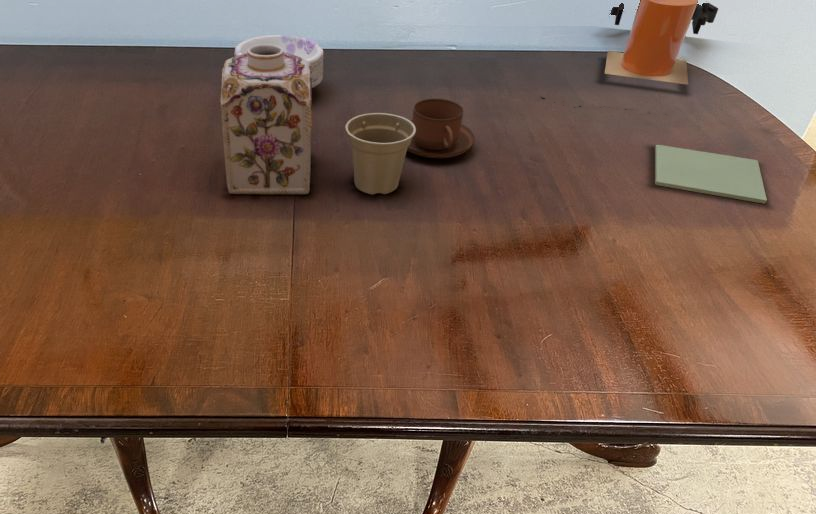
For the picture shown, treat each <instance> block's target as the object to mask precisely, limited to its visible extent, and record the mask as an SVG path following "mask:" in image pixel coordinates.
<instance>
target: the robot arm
mask: <svg viewBox="0 0 816 514" xmlns="http://www.w3.org/2000/svg"><path fill="white" fill-rule="evenodd" d="M623 9H624V4H623V3H621V4H620V5H619V7H613V8H612V10H610V11H611V13H610V12H609V15H610V14H611V15H615V19H614V26H620V22H621V20H622V17H623V12H624V11H623ZM718 11H719V7H717V6H715V5H713V4H712V3H710V2H708V3H703V4H702V6H701V5H699V4H697V6H696V9H695V11H694V14H693V17H692V19H691V26H692V27H691V28H692V33H693V34H694V35H699V32H700V30H701V26H705V25H706V24H707V23H709V24H712V23H714V22H715V19H716V17H717V14H718Z"/></svg>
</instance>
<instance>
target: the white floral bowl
mask: <svg viewBox="0 0 816 514" xmlns="http://www.w3.org/2000/svg"><path fill="white" fill-rule="evenodd" d="M260 44H270V45H276V46H279V47H281V48H282V49H283V51H284V52H286V53H290V54H292V55H296V56H298V57H301V58H303V59H305V60H307V61H309V62H310V65H311V71H312V74H311V77H312V89H313V88H316V87H317V86H318V85H320V84H321V82H322V81H323V79H324V53H325V52H324V49H323V47H322V46H321V45H320V44H319V43H318V42H316V41H314V40H311V39H309V38H306V37H302V36H297V35H291V34H290V35H288V34H287V35H286V34H270V35H269V34H268V35H261V36H255V37H250V38H247V39H245V40H242V41H241V42H239V43H238V44H237V45H236V47H235V48H234V52H233V53H234V54H233V55H234V57H235V56H237V55H242V54H246V53H247V50H248V49H249V48H250V47H253V46H255V45H260Z"/></svg>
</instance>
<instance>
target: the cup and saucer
mask: <svg viewBox="0 0 816 514" xmlns="http://www.w3.org/2000/svg"><path fill="white" fill-rule="evenodd" d="M463 116H464V108H463V106H462V105H460V104H459V103H458V102H455V101H453V100H451V99H450V100H449V99H445V98H426V99H421V100H418V101H417V102H416V103H415V104H414V105H413V110H412V119H411V120H410V121H411V122H412V123H413V124H414V125H415V127H416V133H415V135H414V137H413V138H412V139H411V143H410V145H409V146H408V148H407V151H406V152H408V153H411V154H413V155H415V156H419V157H422V158H427V159H450V158H455V157H457V156H461V155H463V154H465V153H466V152H468V151H469V150H470V149H471V148H472V147H473V145H474V143H475V139H476V138H475V135H474V133H473V131H472V130H471V129H470V128H468V127H467V126H466V125H463V124H462V121H463Z"/></svg>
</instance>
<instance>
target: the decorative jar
mask: <svg viewBox="0 0 816 514" xmlns="http://www.w3.org/2000/svg"><path fill="white" fill-rule="evenodd" d="M311 74H312V71H311V65H310V62H309V61H307V60H305V59H303V58H301V57H298V56H296V55H292V54H290V53H286V52H284V51H283V49H282V48H281V47H279V46H276V45H270V44H260V45H255V46H253V47H250V48H249V49H248V50H247V53H246V54H242V55H237V56H235V55H234V56H233V57H230V58H227V59H226V60H225V61H224V64H223V67H222V69H221V80H220V83H221V87H220V101H219V102H218V103H219V105H220V112H221V126H222V140H223V154H224V165H225V166H224V167H225V175H226V176H225V177H226V186H227V190H228V193H229V194H230V195H308V194H309V193H310V189H311V187H310V185H311V161H312V160H311V157H312V153H311V151H312V150H311V149H312V147H311V140H312V133H313V125H314V120H313V117H312V116H313V115H312V99H313V97H312V94H313V88H312V77H311Z"/></svg>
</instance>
